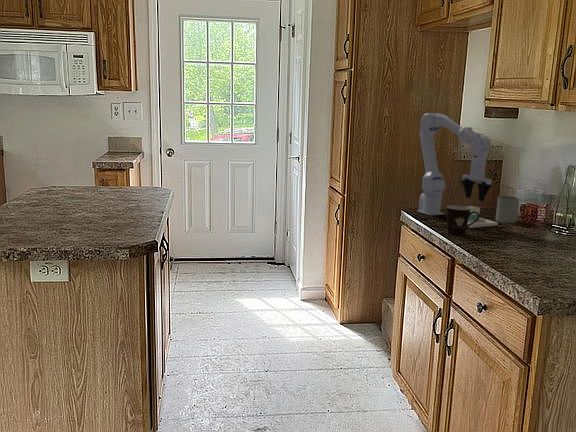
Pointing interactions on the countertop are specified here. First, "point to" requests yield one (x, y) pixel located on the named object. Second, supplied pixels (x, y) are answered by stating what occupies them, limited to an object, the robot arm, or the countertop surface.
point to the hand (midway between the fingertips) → (474, 199)
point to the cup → (507, 209)
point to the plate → (481, 223)
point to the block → (474, 215)
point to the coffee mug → (458, 219)
